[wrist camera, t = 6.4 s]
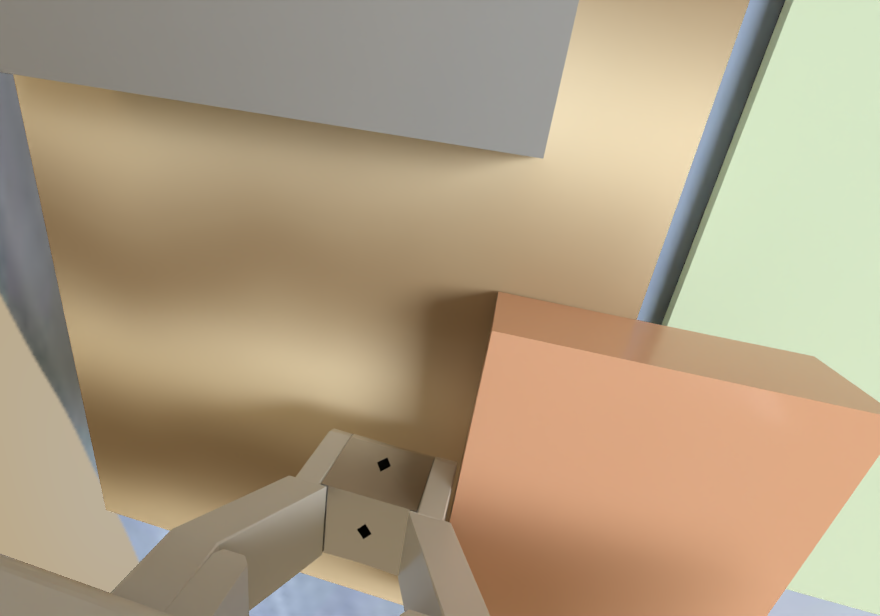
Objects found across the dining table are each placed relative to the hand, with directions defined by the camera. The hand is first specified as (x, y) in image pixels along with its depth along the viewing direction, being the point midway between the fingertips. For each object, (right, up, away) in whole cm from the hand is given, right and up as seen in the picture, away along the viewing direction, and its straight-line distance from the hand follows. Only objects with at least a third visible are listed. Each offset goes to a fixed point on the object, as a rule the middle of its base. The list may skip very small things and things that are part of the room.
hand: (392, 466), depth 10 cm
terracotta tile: (+5, -1, 0) cm, 5 cm away
